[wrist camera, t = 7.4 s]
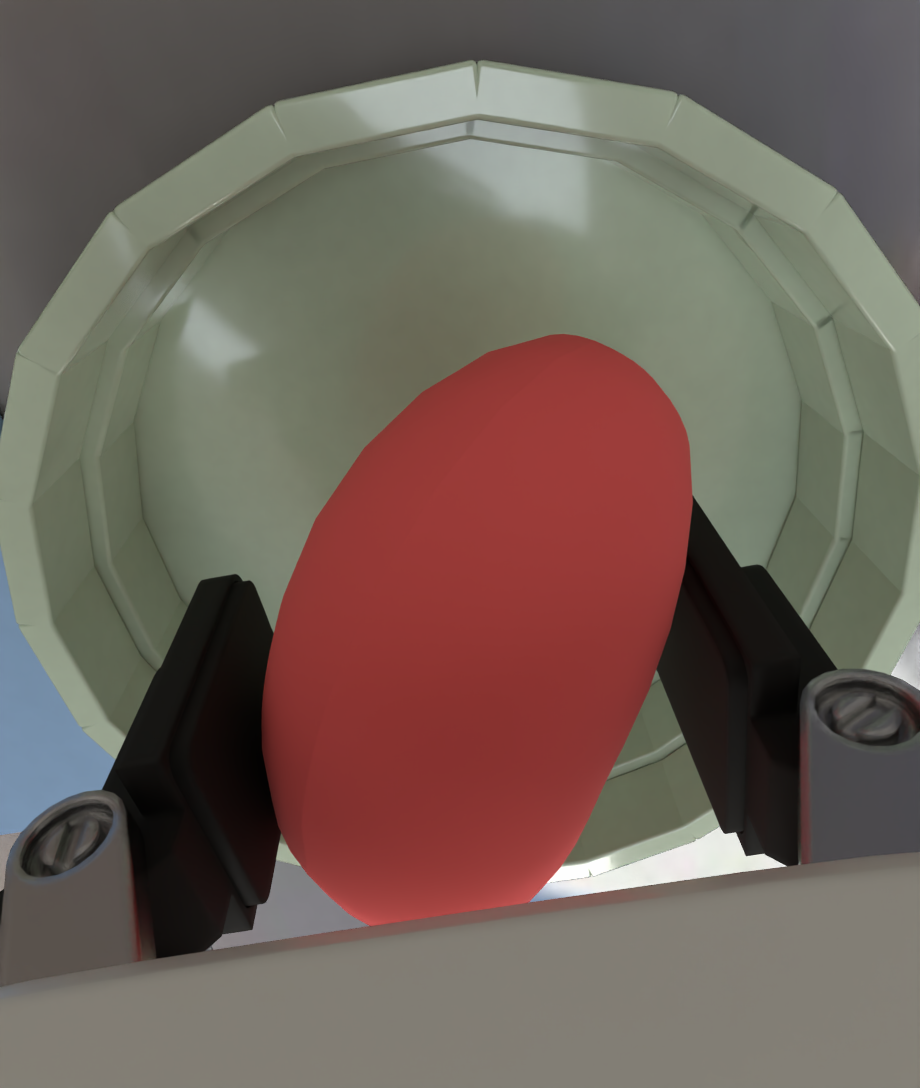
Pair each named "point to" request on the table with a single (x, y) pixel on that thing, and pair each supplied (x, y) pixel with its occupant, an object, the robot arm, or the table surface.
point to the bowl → (442, 349)
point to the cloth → (37, 732)
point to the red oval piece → (477, 631)
